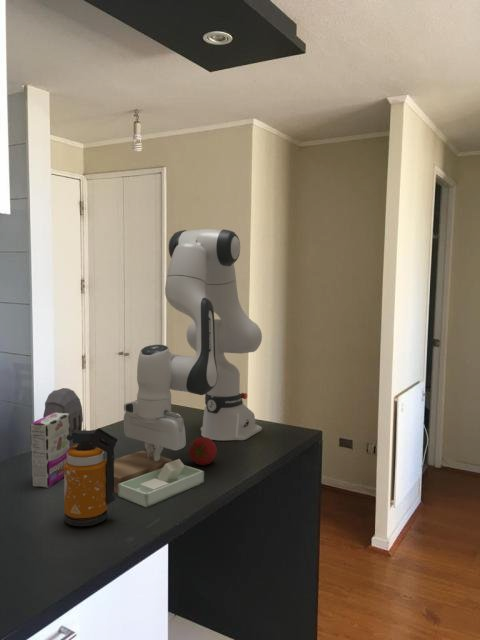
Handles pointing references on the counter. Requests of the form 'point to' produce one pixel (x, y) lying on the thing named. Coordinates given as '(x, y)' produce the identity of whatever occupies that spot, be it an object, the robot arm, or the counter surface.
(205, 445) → the tomato
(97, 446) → the canister
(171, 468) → the tile
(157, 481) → the tile
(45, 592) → the counter surface
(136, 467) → the board
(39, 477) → the candy bar box
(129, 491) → the tray
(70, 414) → the small grey backpack
